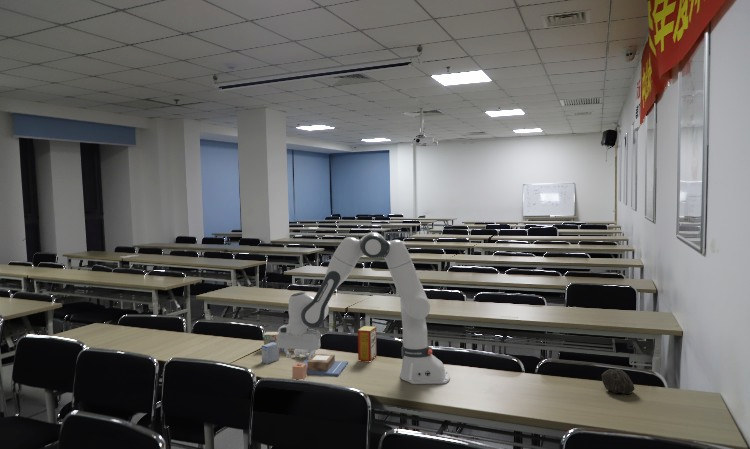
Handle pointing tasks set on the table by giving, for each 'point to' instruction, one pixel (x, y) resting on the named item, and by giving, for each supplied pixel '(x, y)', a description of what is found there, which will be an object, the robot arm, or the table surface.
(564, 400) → the table surface
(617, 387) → the rock
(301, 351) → the white animal figurine
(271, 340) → the stack of blocks
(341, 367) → the board
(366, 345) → the baking soda box
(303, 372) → the snap block
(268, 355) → the medicine box
